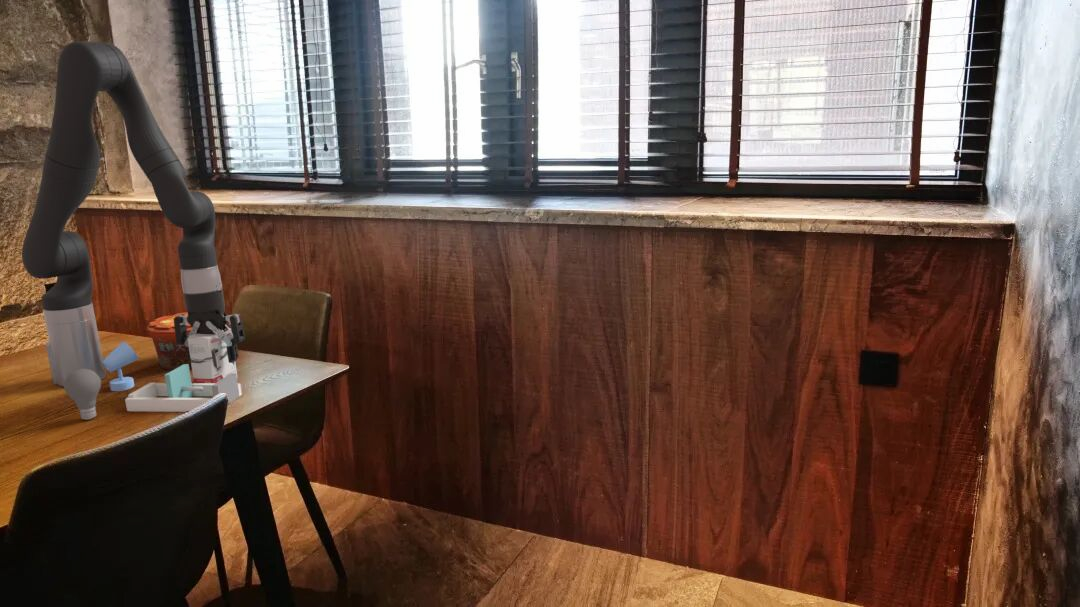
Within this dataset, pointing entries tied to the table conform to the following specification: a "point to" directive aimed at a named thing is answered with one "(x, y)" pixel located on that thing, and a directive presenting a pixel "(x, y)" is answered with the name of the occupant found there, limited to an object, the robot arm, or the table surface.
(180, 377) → the pusher
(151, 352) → the table surface
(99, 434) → the table surface
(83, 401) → the light bulb
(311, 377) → the table surface
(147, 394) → the light grey piece
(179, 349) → the food container
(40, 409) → the table surface
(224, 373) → the ink box
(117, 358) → the spotlight
